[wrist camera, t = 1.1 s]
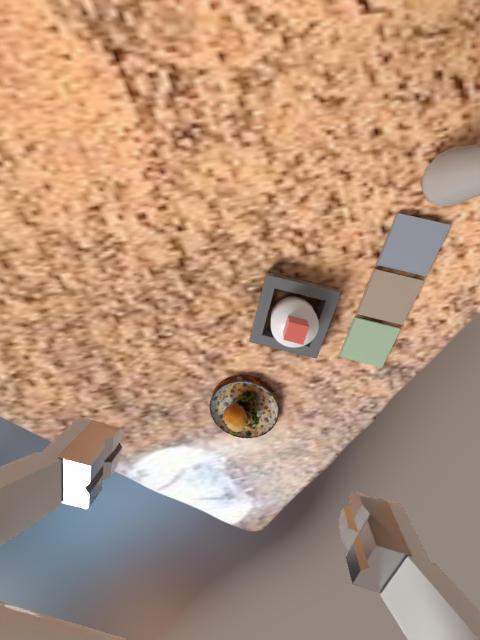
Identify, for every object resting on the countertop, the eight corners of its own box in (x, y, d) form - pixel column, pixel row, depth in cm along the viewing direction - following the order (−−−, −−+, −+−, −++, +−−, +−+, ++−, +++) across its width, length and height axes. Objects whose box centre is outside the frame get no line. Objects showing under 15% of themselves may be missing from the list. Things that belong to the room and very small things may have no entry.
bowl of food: (241, 441, 47) (236, 477, 40) (197, 397, 45) (184, 429, 38) (293, 409, 44) (298, 444, 37) (248, 361, 41) (244, 388, 34)
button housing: (266, 271, 36) (266, 274, 34) (336, 288, 36) (341, 292, 33) (250, 334, 40) (249, 341, 37) (313, 350, 39) (316, 358, 37)
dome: (277, 291, 35) (278, 303, 29) (320, 302, 35) (329, 316, 29) (266, 330, 37) (265, 349, 31) (306, 340, 37) (313, 361, 31)
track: (396, 213, 32) (398, 213, 31) (448, 225, 32) (451, 225, 31) (338, 355, 39) (340, 356, 38) (380, 365, 39) (382, 367, 38)
